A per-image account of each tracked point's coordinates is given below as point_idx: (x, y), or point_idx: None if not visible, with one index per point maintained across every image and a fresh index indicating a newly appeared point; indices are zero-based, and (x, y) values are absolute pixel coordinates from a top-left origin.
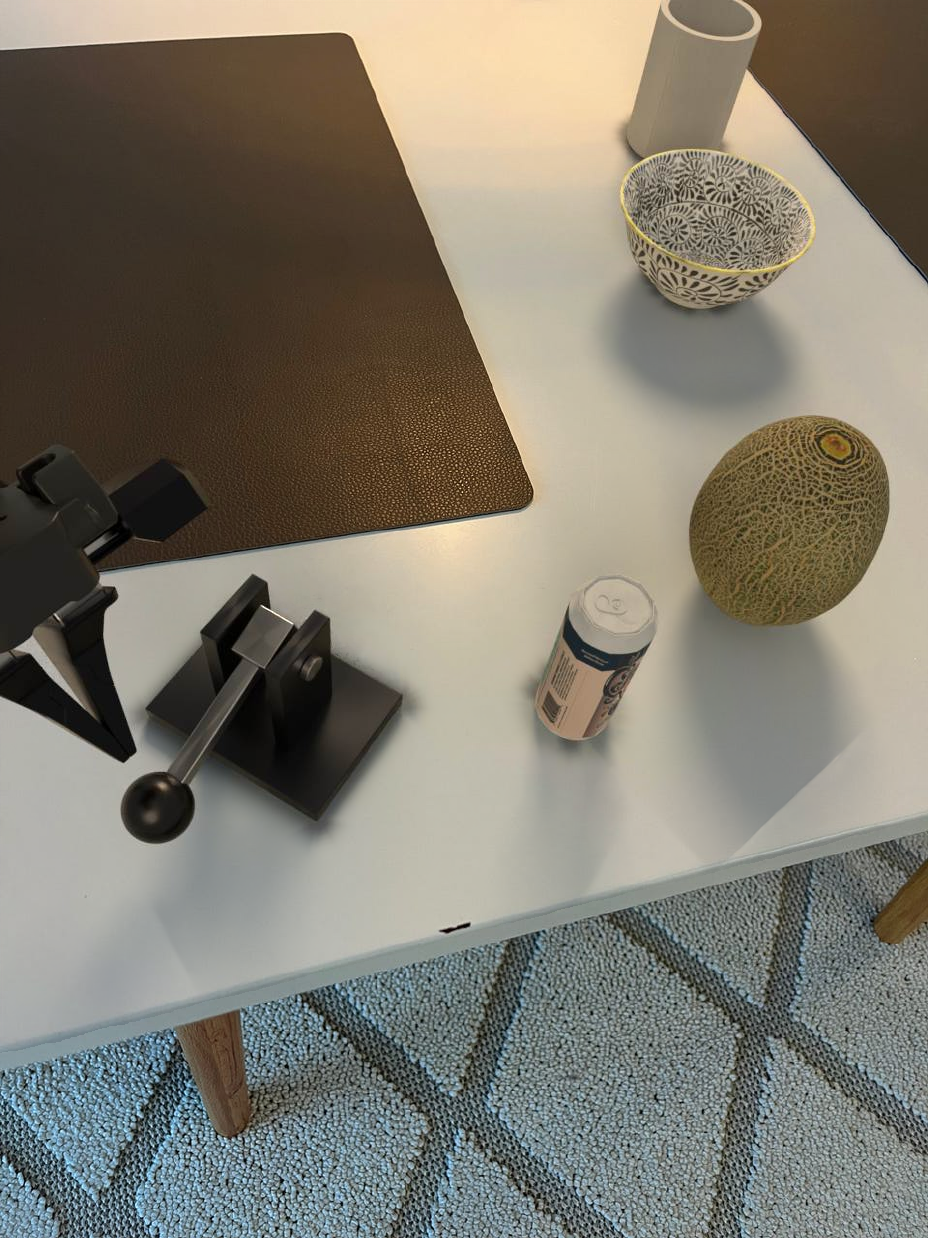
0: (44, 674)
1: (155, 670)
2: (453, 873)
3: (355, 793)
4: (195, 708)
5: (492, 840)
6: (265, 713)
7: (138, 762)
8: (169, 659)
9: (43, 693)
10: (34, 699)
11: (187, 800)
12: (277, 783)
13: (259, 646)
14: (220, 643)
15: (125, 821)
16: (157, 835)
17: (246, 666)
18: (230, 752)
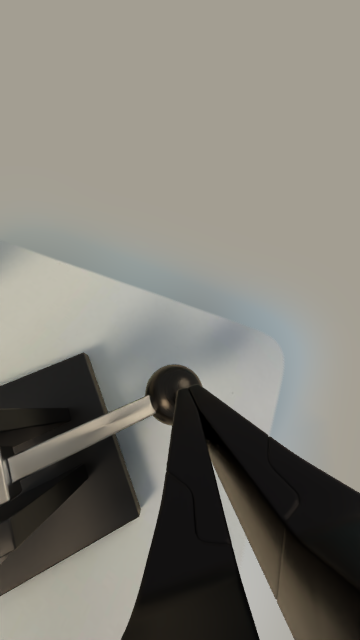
0: (327, 554)
1: (112, 558)
2: (44, 284)
3: (54, 358)
4: (104, 489)
5: (9, 286)
6: None
7: (165, 470)
8: (96, 564)
9: (315, 506)
10: (336, 500)
11: (152, 379)
12: (90, 388)
13: None
14: (11, 514)
15: None
16: (185, 367)
17: (17, 469)
18: None
